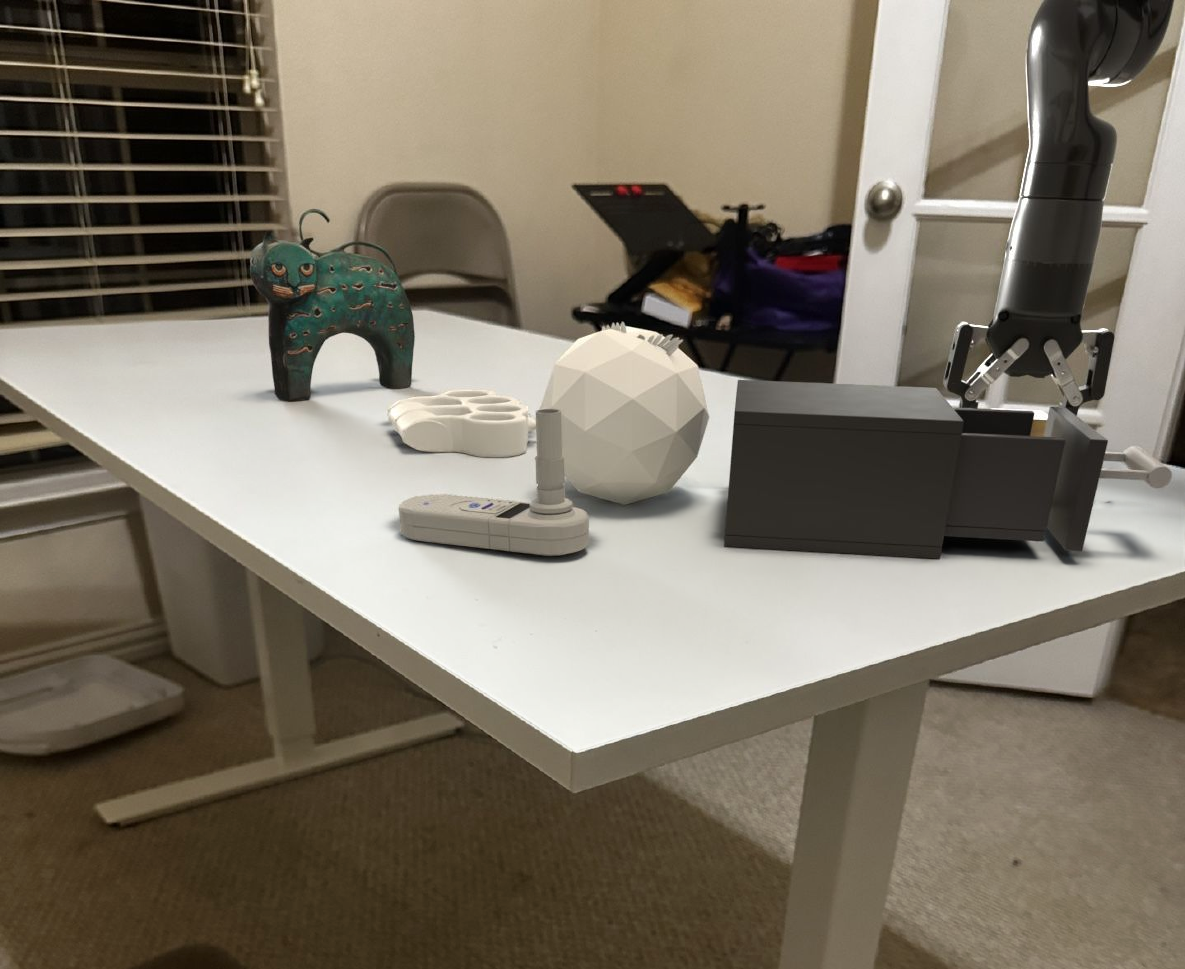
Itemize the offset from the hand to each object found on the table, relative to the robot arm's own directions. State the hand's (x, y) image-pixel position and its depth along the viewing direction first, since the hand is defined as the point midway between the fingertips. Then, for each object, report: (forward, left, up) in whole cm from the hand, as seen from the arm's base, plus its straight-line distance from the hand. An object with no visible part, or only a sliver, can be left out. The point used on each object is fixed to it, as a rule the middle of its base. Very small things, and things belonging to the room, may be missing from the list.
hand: (1011, 442), depth 108 cm
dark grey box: (+18, +25, -2) cm, 31 cm away
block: (-1, 0, -2) cm, 2 cm away
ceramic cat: (+74, -24, -3) cm, 78 cm away
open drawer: (+5, +25, -1) cm, 25 cm away
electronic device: (+43, +34, -3) cm, 55 cm away
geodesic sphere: (+35, +19, -3) cm, 40 cm away
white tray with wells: (+53, -1, -3) cm, 54 cm away
